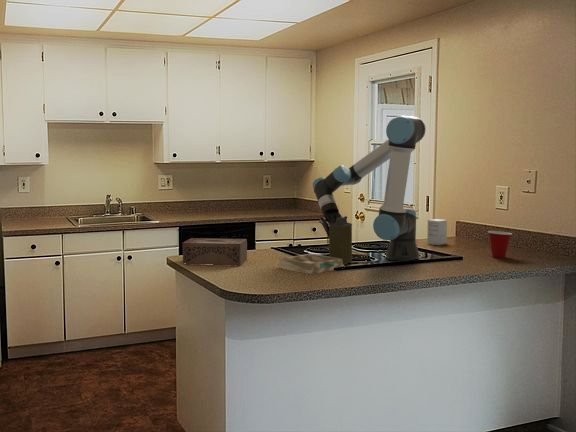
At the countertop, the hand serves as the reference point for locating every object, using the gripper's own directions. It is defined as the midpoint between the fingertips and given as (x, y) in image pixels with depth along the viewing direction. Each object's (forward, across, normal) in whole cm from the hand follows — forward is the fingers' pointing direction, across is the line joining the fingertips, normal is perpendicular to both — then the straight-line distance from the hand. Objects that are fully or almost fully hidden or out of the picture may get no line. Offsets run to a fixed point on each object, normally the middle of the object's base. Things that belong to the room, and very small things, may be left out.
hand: (343, 248), depth 306 cm
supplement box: (-21, -71, -31) cm, 80 cm away
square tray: (+7, +17, -3) cm, 18 cm away
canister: (+2, 0, -8) cm, 8 cm away
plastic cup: (+11, -75, +1) cm, 76 cm away
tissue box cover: (-12, +51, -23) cm, 58 cm away
